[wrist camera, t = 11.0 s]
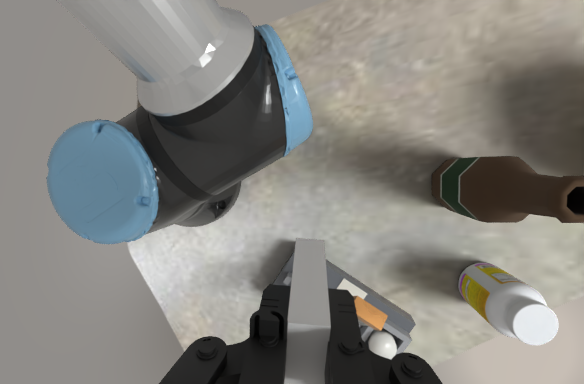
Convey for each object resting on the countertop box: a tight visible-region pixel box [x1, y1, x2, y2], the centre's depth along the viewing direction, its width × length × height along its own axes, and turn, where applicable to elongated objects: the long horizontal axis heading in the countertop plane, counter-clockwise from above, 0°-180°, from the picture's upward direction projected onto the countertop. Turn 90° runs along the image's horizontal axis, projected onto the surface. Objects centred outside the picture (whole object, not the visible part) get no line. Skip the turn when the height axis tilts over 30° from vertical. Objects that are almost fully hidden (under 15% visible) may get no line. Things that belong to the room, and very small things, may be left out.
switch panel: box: [272, 251, 416, 360], centre depth 48 cm, size 9×20×5 cm, turn 57°
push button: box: [368, 329, 397, 359], centre depth 45 cm, size 4×4×2 cm
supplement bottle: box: [458, 263, 558, 345], centre depth 41 cm, size 7×7×13 cm
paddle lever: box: [353, 296, 388, 331], centre depth 42 cm, size 2×4×12 cm, turn 58°
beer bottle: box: [432, 156, 584, 223], centre depth 35 cm, size 8×8×24 cm
